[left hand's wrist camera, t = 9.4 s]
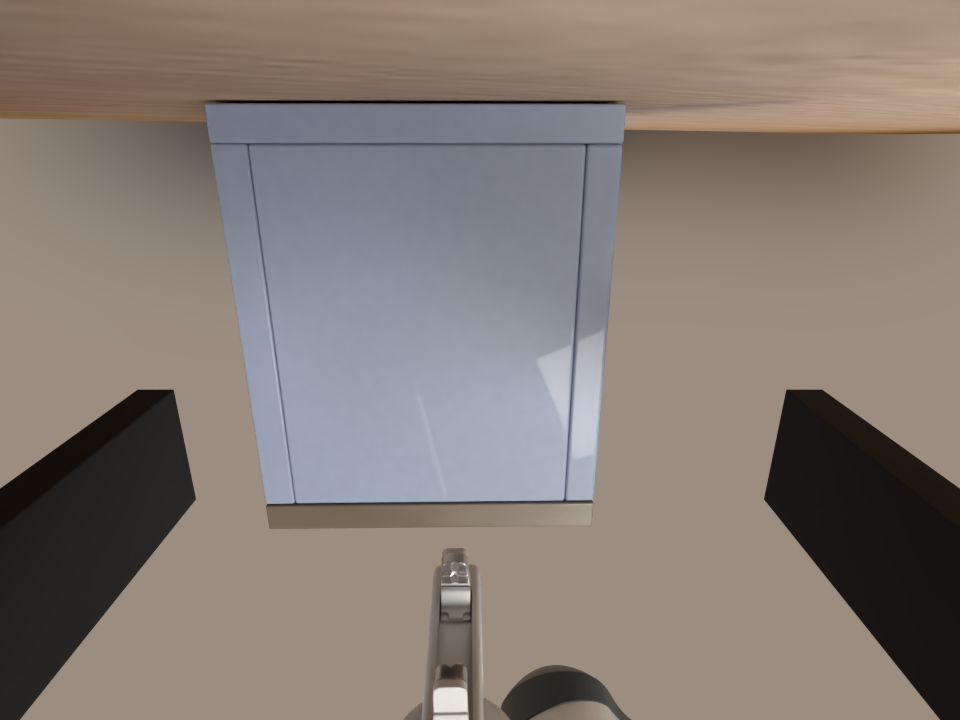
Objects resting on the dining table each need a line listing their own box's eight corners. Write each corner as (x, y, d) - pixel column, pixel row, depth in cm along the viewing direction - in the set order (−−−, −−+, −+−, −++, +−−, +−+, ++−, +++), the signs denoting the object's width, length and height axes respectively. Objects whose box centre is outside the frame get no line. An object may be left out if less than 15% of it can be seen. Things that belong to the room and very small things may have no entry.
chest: (547, 123, 27) (539, 343, 31) (337, 123, 27) (355, 344, 31) (627, 103, 13) (594, 501, 17) (202, 102, 13) (265, 504, 17)
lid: (538, 341, 31) (533, 470, 34) (357, 342, 31) (367, 472, 34) (593, 503, 17) (577, 699, 20) (265, 506, 17) (295, 703, 20)
